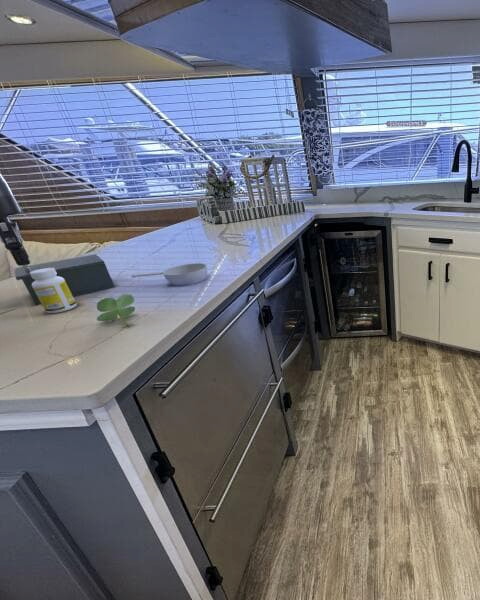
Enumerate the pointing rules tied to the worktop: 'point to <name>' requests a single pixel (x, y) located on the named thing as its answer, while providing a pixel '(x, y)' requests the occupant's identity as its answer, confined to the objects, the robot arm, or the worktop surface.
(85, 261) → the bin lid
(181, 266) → the saucepan
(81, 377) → the worktop surface
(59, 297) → the supplement bottle
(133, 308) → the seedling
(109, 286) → the bin
